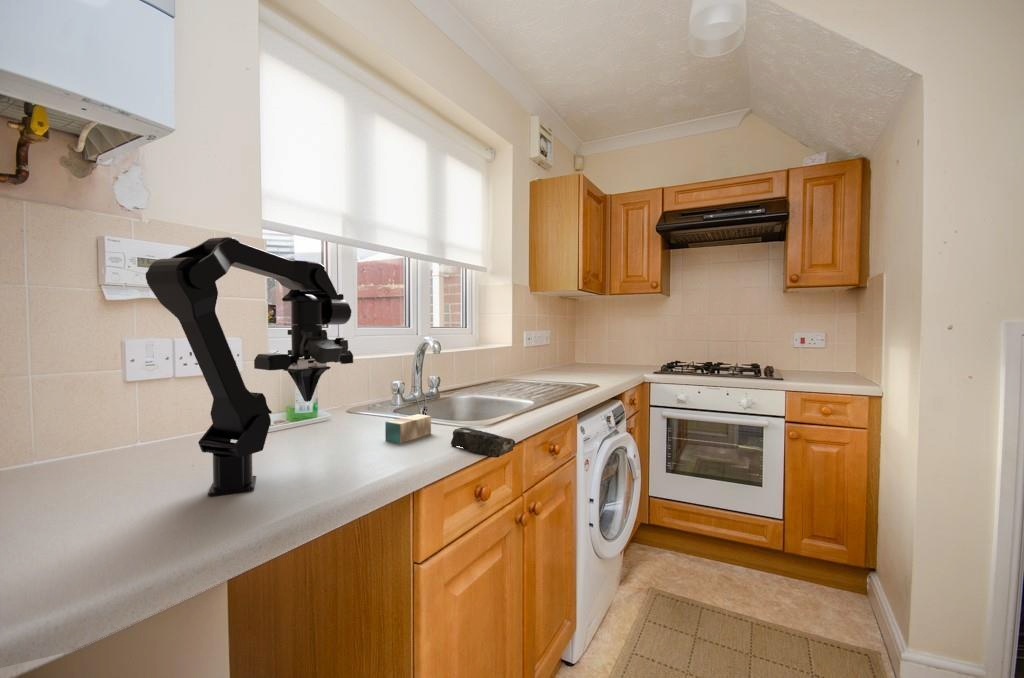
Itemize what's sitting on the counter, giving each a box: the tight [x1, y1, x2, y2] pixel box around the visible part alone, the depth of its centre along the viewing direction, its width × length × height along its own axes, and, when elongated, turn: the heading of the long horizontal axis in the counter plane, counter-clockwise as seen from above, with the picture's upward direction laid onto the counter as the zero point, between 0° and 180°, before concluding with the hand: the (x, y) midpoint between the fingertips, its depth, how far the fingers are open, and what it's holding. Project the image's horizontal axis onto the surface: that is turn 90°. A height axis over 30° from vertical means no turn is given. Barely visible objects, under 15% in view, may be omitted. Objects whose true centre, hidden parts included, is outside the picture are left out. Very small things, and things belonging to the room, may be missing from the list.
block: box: [384, 413, 432, 444], centre depth 112 cm, size 4×4×11 cm
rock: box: [450, 427, 516, 459], centre depth 102 cm, size 8×16×4 cm, turn 60°
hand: (307, 401), depth 93 cm, fingers closed
